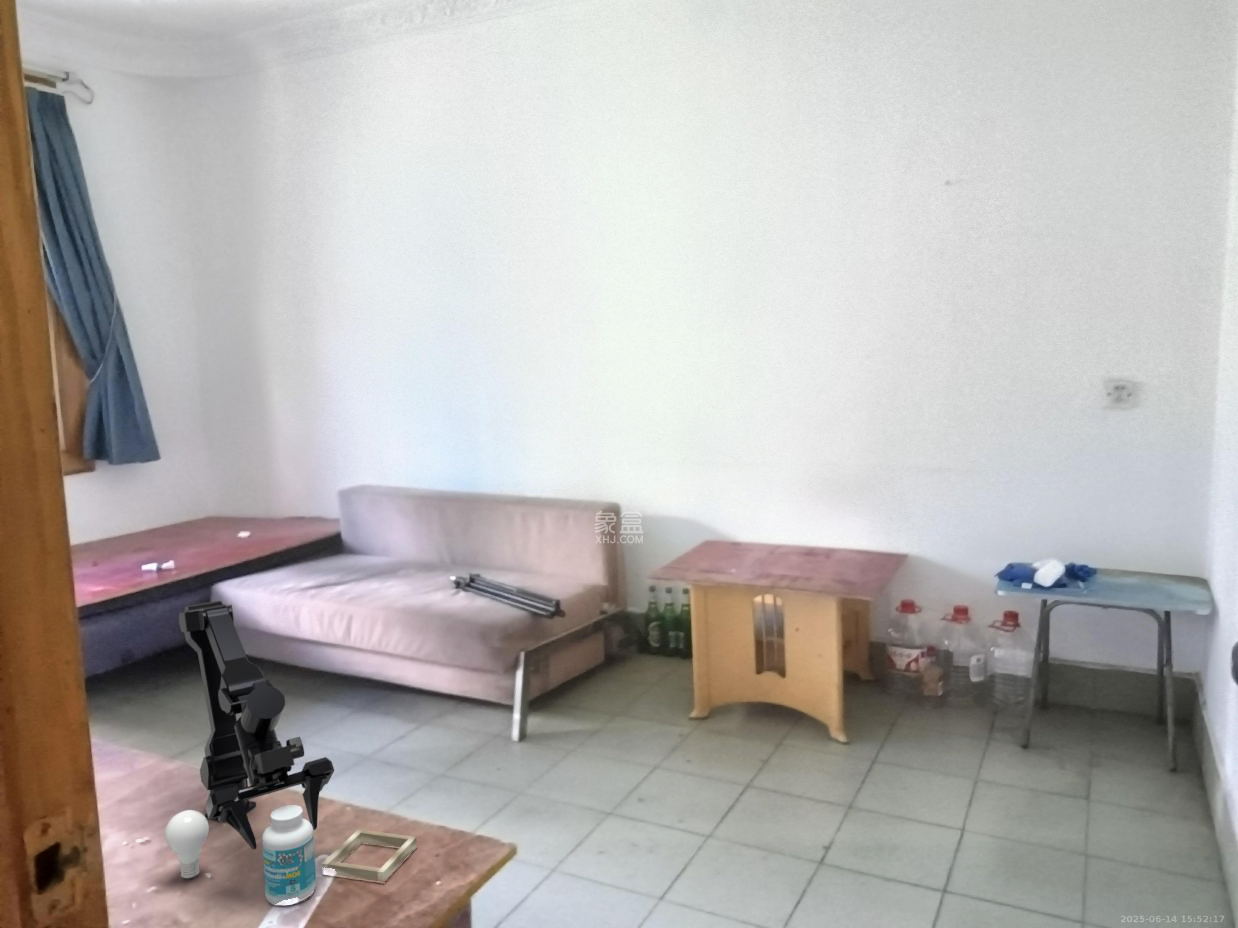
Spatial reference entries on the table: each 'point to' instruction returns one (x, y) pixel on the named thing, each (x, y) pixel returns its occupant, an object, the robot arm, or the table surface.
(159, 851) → the table surface
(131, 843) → the table surface
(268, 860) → the pill bottle
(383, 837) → the wooden collar
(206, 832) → the lightbulb
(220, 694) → the robot arm
